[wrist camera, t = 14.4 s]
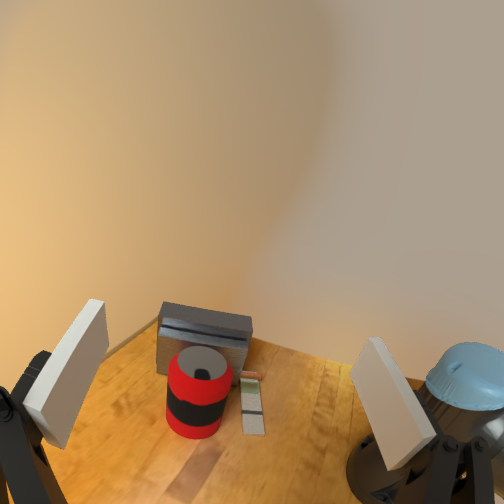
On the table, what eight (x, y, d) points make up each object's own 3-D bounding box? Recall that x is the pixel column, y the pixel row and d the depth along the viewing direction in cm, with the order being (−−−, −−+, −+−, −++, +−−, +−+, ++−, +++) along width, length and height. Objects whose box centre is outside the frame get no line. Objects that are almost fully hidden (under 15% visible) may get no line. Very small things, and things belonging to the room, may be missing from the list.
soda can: (165, 437, 30) (166, 382, 26) (167, 396, 37) (171, 337, 33) (221, 442, 32) (239, 389, 28) (217, 401, 39) (232, 344, 35)
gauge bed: (255, 363, 49) (269, 319, 45) (263, 436, 34) (284, 394, 31) (160, 348, 46) (163, 301, 43) (141, 420, 32) (138, 374, 28)
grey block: (255, 359, 49) (266, 325, 47) (259, 387, 43) (272, 353, 40) (163, 345, 47) (166, 308, 44) (156, 372, 41) (157, 335, 38)
